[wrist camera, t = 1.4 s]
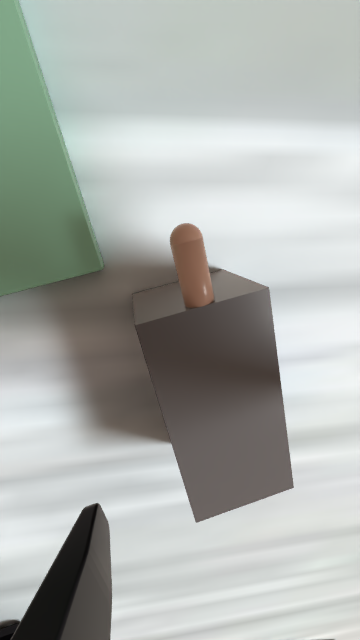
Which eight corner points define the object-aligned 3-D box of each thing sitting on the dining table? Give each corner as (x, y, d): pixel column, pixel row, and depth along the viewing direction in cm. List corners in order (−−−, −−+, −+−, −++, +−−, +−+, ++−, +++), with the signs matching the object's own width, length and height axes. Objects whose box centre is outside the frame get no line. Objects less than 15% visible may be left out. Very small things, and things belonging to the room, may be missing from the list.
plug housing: (177, 444, 16) (196, 522, 11) (115, 238, 12) (109, 242, 8) (249, 420, 16) (293, 487, 12) (213, 214, 12) (258, 205, 8)
